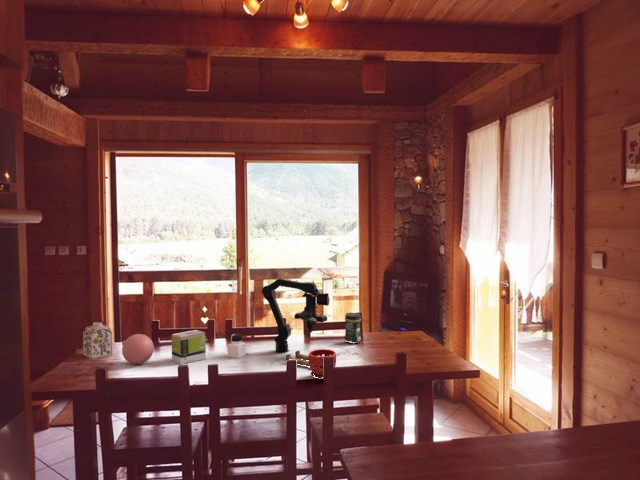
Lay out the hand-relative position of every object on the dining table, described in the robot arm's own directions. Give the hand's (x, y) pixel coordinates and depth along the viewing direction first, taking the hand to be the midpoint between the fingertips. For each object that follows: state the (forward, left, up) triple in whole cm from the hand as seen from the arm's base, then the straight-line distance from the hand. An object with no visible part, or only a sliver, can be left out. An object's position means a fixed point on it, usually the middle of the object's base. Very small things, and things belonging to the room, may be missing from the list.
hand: (310, 332), depth 271 cm
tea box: (-47, -47, -12) cm, 68 cm away
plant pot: (+28, -32, -12) cm, 44 cm away
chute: (+9, -18, -12) cm, 23 cm away
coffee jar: (+8, +35, -12) cm, 38 cm away
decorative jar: (-96, -68, -12) cm, 118 cm away
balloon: (-66, -66, -12) cm, 94 cm away
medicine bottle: (-31, -27, -12) cm, 43 cm away
